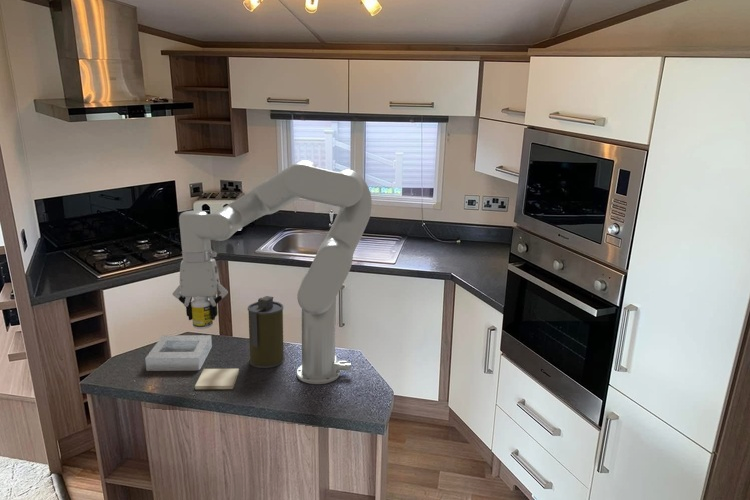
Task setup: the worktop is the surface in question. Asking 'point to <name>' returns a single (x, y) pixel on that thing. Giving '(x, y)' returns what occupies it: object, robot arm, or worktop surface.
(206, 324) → the supplement bottle
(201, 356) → the socket block
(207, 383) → the oak board
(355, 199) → the robot arm
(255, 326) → the canister
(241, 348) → the worktop surface
